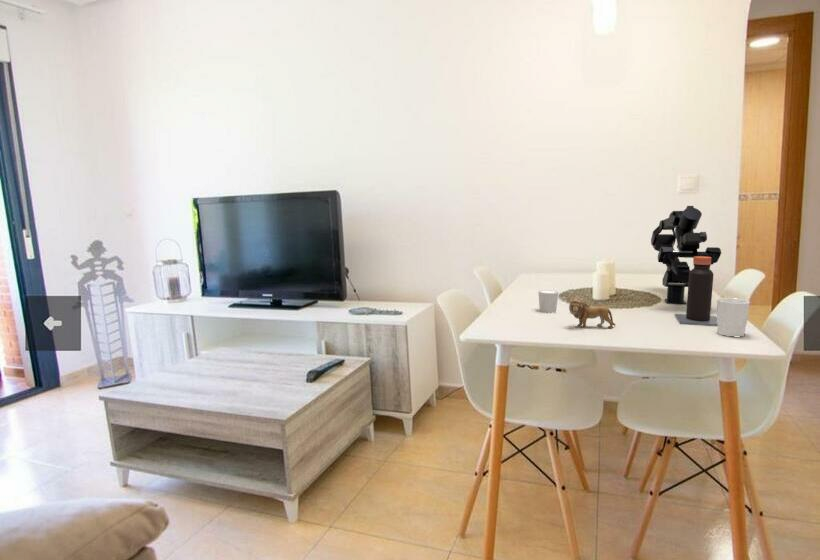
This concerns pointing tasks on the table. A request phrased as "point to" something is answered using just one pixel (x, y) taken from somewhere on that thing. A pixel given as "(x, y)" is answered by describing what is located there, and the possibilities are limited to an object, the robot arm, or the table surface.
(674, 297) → the robot arm
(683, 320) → the slate coaster
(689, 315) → the vinegar
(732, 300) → the white cup
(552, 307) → the ribbed white pot
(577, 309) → the lion figurine
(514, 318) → the table surface
